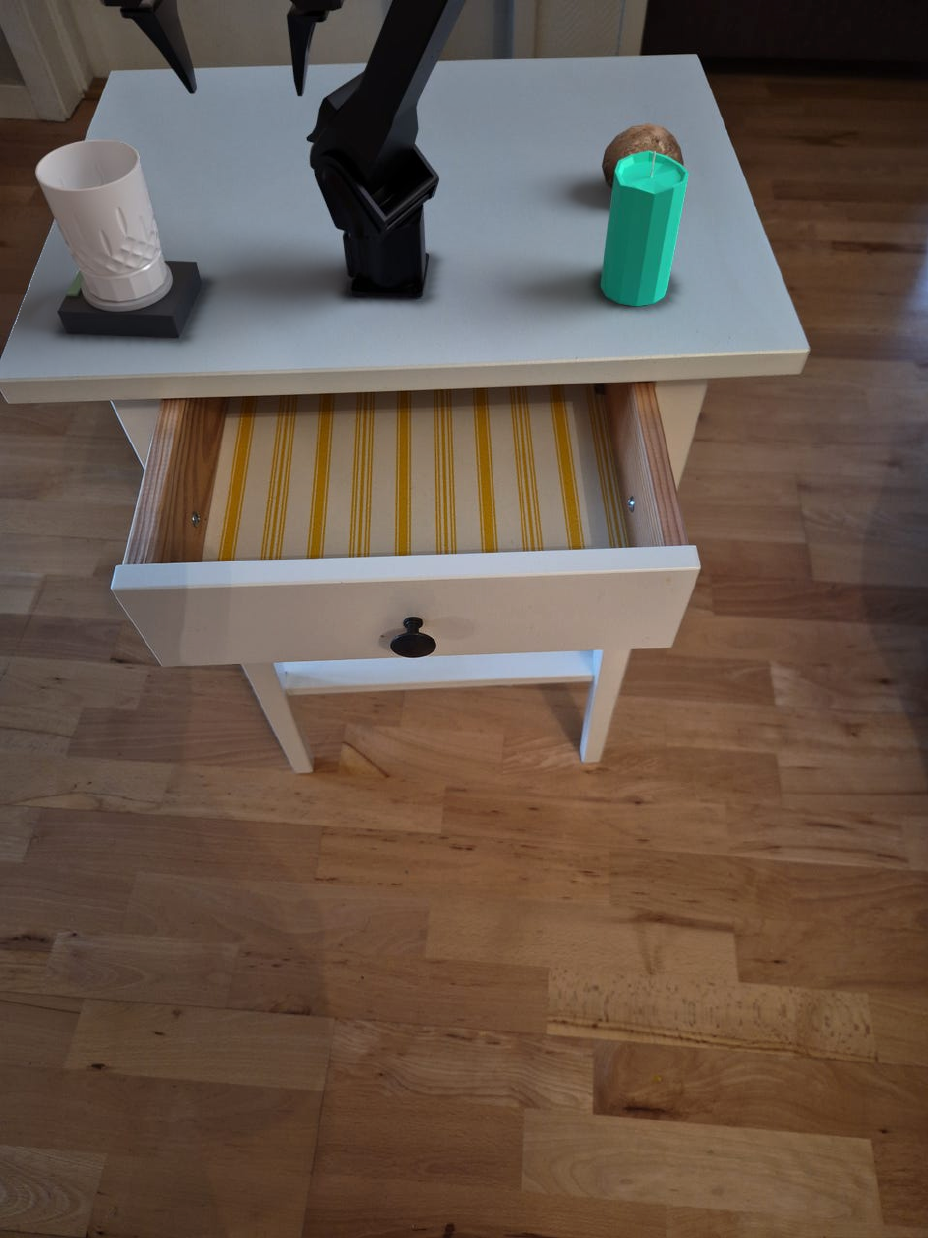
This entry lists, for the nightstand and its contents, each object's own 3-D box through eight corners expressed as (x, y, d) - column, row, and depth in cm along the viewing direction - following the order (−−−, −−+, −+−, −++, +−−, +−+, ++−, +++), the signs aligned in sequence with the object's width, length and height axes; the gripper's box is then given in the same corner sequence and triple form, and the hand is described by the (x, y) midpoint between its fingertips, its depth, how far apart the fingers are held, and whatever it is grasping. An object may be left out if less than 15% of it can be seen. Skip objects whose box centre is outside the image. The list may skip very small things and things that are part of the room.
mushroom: (607, 130, 92) (631, 94, 86) (675, 167, 93) (704, 134, 87) (580, 200, 91) (602, 168, 85) (649, 236, 92) (676, 207, 86)
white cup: (172, 248, 81) (138, 133, 73) (175, 299, 76) (140, 182, 68) (81, 260, 80) (37, 145, 72) (79, 312, 75) (32, 196, 67)
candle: (598, 266, 83) (614, 132, 73) (664, 267, 83) (688, 133, 73) (602, 306, 80) (619, 170, 70) (670, 306, 79) (697, 170, 70)
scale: (202, 283, 82) (195, 255, 80) (179, 337, 78) (170, 309, 75) (95, 279, 83) (85, 251, 81) (66, 333, 78) (53, 304, 76)
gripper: (350, -175, 68) (370, 53, 81) (108, -177, 69) (164, 49, 82) (325, -128, 61) (351, 112, 74) (58, -131, 62) (128, 107, 75)
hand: (247, 92), depth 76 cm, fingers open, 9 cm apart
